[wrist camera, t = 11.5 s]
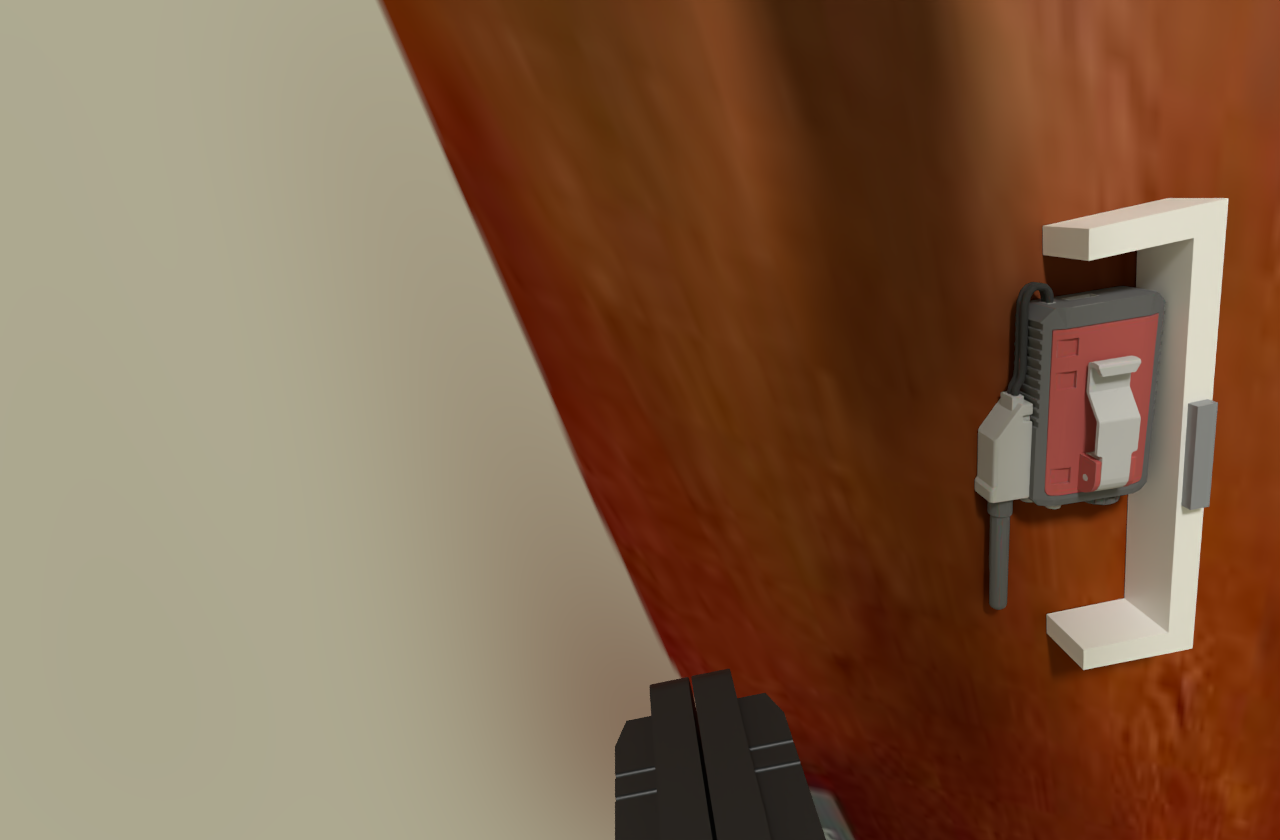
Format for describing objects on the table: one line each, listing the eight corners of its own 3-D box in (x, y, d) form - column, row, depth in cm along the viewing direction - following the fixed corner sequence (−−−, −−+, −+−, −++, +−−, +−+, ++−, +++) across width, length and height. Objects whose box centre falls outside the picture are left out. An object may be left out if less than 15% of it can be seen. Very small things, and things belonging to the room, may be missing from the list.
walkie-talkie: (972, 287, 35) (968, 598, 42) (1019, 299, 31) (1008, 642, 37) (1134, 260, 35) (1105, 576, 42) (1203, 269, 31) (1160, 619, 37)
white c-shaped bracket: (1042, 226, 34) (1098, 229, 30) (1167, 198, 34) (1240, 198, 30) (1046, 633, 42) (1090, 677, 38) (1146, 613, 42) (1200, 655, 38)
